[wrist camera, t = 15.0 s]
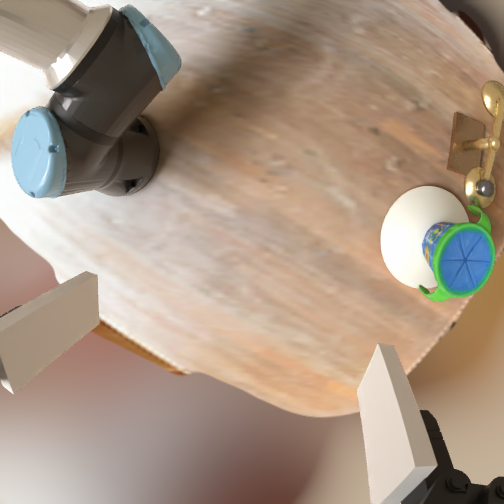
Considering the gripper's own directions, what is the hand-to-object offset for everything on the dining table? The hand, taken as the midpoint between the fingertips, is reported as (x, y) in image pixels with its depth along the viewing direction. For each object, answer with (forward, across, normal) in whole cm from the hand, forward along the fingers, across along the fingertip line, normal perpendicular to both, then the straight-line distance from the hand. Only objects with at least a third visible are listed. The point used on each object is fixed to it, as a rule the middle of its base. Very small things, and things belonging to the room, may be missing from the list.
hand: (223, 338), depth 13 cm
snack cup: (+36, +26, +2) cm, 44 cm away
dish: (+37, +24, +2) cm, 44 cm away
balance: (+37, +28, +19) cm, 50 cm away
